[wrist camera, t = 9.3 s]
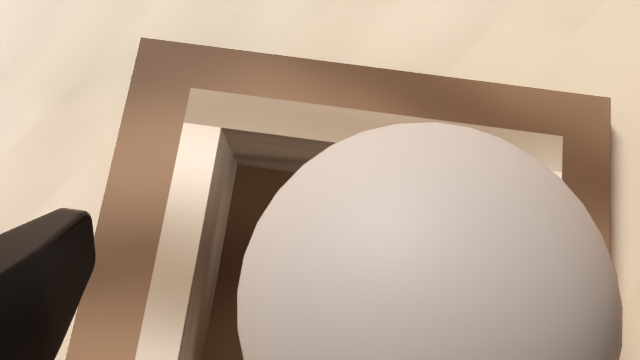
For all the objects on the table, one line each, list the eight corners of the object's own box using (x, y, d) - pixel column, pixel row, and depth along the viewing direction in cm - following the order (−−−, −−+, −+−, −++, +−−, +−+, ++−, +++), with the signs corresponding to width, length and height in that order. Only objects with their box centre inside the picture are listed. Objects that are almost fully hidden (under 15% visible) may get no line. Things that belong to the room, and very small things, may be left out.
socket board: (589, 634, 16) (691, 744, 12) (34, 552, 17) (-64, 631, 12) (596, 109, 20) (673, 48, 16) (148, 51, 21) (105, -24, 16)
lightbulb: (335, 471, 16) (389, 716, 6) (232, 282, 18) (119, 198, 7) (510, 355, 17) (834, 382, 7) (399, 185, 19) (523, -20, 8)
